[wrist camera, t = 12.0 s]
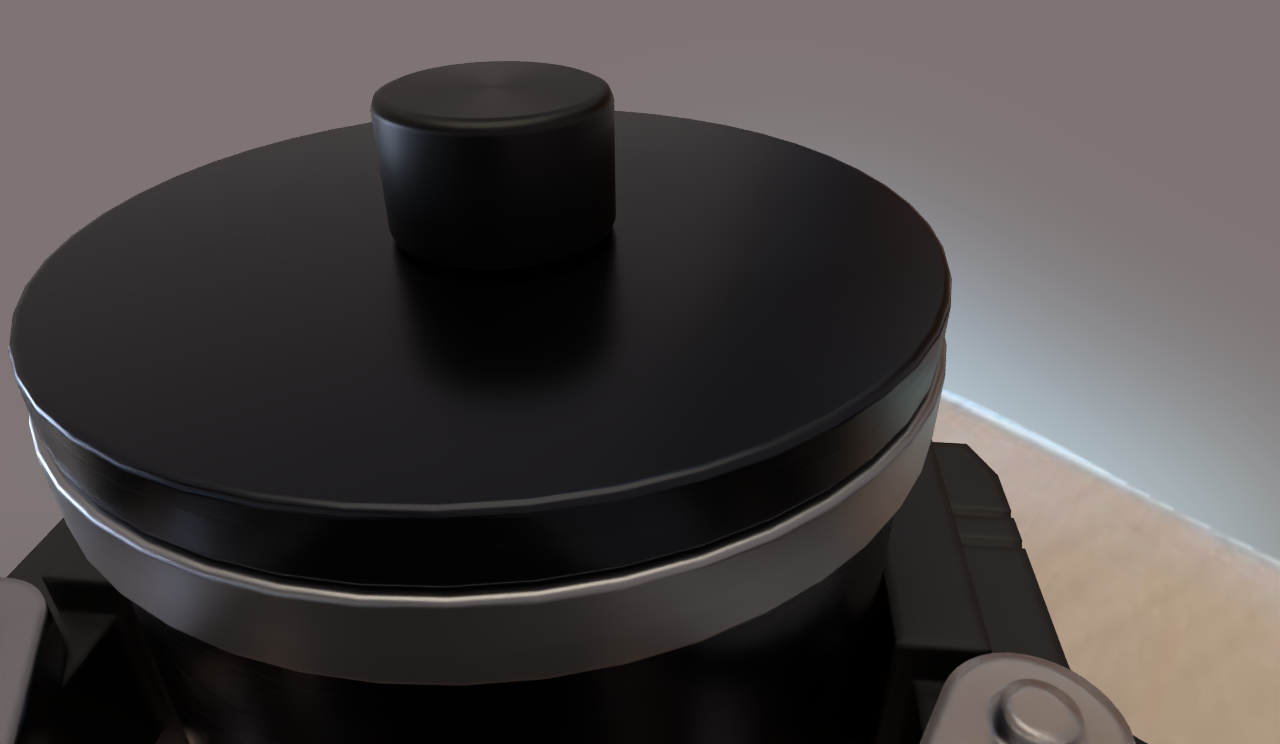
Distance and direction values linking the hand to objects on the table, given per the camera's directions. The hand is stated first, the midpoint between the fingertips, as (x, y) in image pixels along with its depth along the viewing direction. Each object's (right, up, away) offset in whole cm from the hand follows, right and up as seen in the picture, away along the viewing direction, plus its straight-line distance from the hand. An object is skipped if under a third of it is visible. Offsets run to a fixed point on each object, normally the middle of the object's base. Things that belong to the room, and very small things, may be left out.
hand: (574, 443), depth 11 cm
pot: (0, -6, +1) cm, 6 cm away
